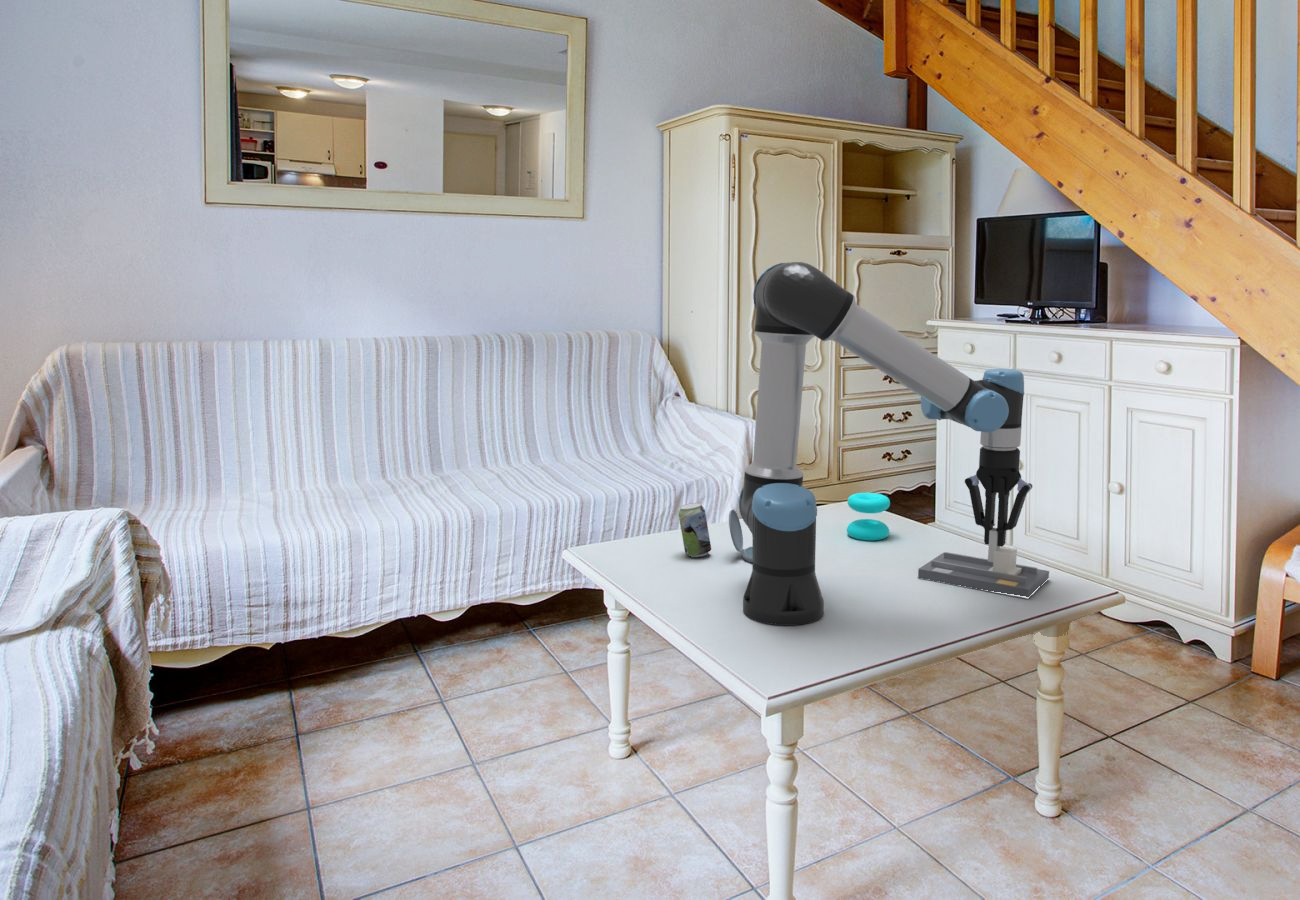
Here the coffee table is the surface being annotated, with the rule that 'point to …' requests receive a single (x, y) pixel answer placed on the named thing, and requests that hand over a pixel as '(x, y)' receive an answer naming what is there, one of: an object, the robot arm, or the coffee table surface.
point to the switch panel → (982, 574)
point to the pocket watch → (738, 536)
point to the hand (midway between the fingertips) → (993, 560)
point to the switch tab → (1005, 561)
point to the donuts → (868, 527)
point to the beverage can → (694, 530)
